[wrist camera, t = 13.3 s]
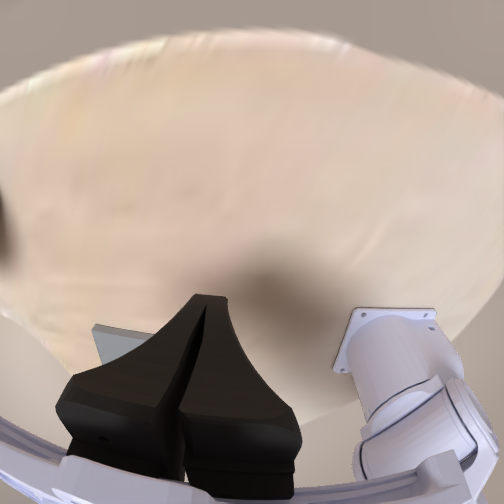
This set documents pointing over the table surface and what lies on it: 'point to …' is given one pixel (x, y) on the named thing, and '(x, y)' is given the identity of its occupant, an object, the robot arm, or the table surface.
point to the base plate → (116, 341)
